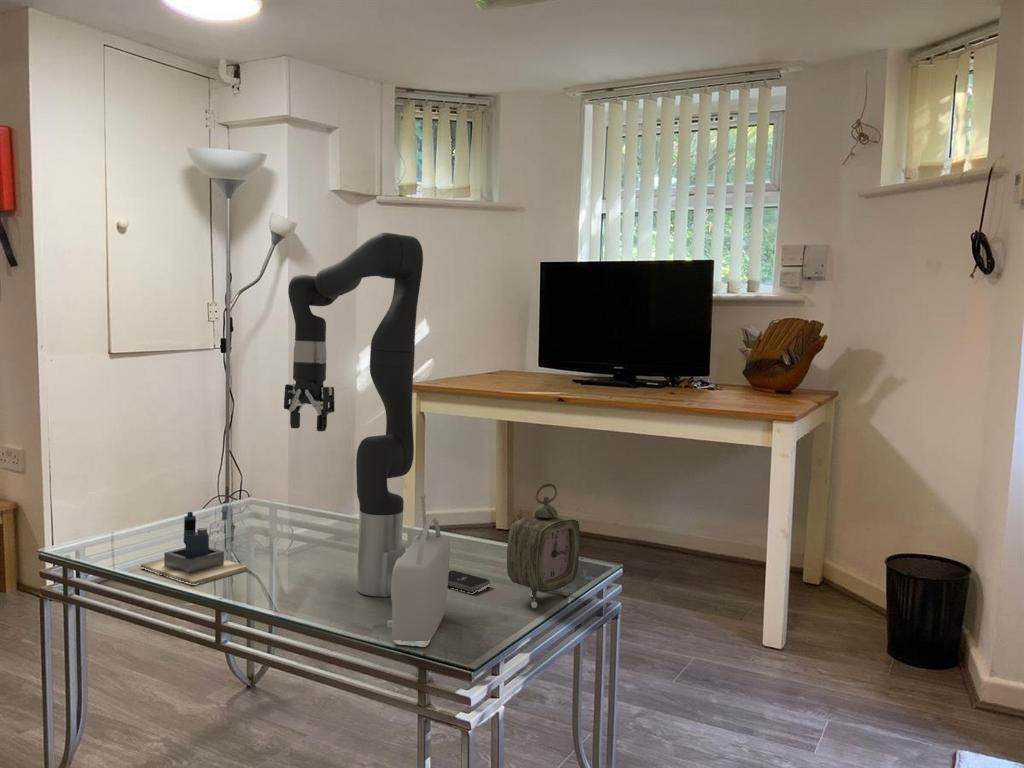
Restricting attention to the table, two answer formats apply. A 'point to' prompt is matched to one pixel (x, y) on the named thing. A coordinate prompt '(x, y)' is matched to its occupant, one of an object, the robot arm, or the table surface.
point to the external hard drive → (466, 581)
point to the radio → (420, 585)
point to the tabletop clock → (543, 548)
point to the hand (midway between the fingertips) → (308, 429)
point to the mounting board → (196, 577)
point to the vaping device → (195, 538)
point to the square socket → (193, 560)
